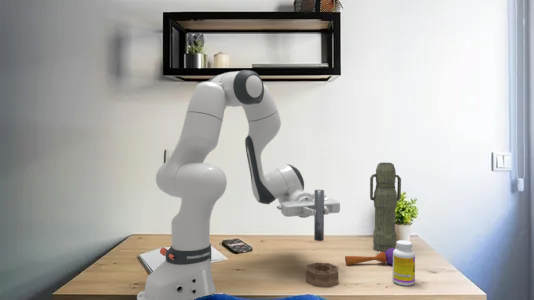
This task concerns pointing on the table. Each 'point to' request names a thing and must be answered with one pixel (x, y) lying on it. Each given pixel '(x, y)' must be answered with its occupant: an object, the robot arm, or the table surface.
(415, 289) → the table surface
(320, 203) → the grey metal peg
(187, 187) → the robot arm
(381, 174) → the thermos
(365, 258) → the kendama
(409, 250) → the supplement bottle
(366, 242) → the table surface
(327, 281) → the bead
